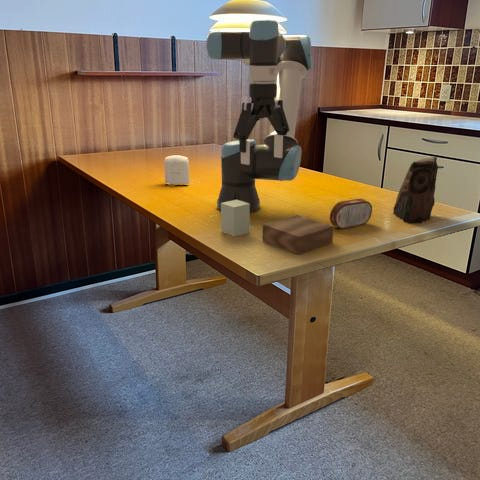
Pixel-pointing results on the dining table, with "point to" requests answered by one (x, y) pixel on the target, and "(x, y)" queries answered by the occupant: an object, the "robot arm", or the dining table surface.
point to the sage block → (235, 217)
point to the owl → (417, 192)
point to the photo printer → (176, 170)
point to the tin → (350, 213)
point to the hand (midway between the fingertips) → (262, 160)
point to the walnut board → (298, 234)
